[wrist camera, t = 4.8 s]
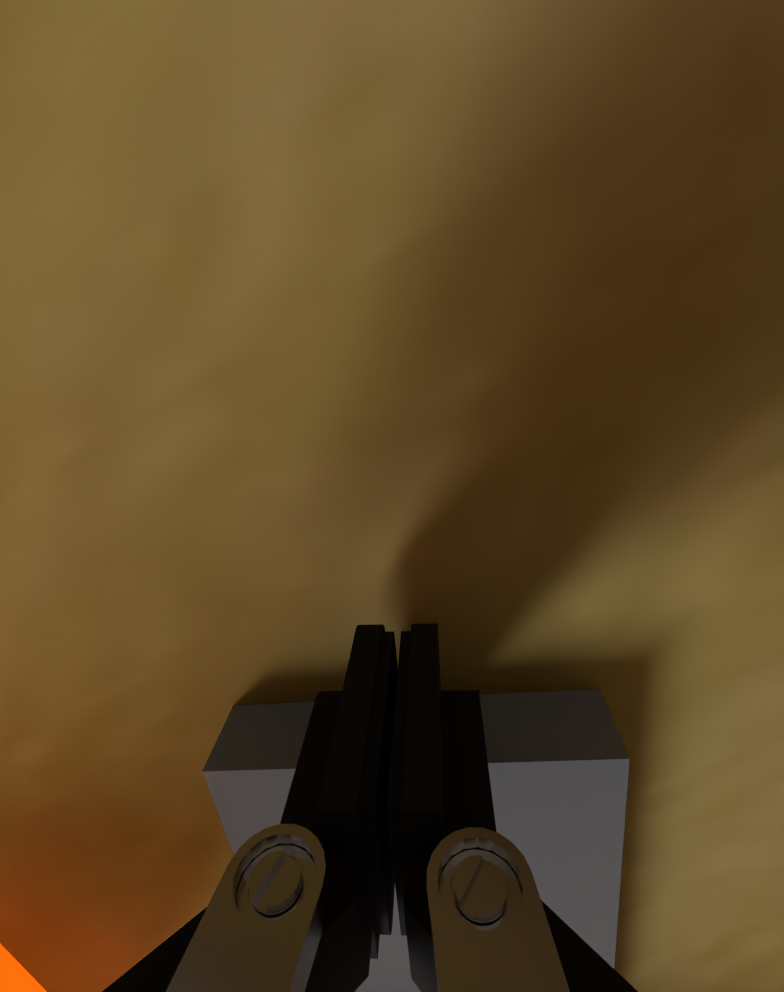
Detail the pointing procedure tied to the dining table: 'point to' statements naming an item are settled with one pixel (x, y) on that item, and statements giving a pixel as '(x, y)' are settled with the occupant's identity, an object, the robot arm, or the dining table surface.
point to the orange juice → (15, 975)
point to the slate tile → (515, 793)
